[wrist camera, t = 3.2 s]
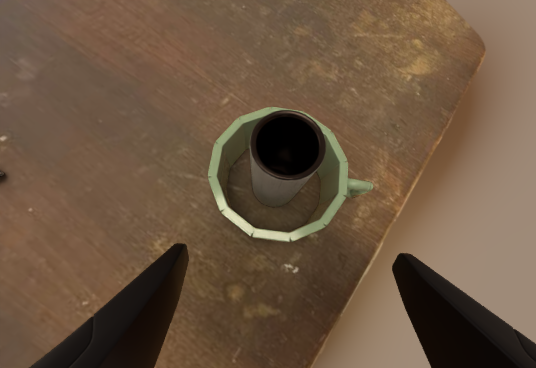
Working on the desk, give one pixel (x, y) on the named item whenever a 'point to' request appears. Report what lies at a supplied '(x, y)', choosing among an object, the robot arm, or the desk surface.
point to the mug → (329, 172)
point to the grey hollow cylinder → (284, 155)
